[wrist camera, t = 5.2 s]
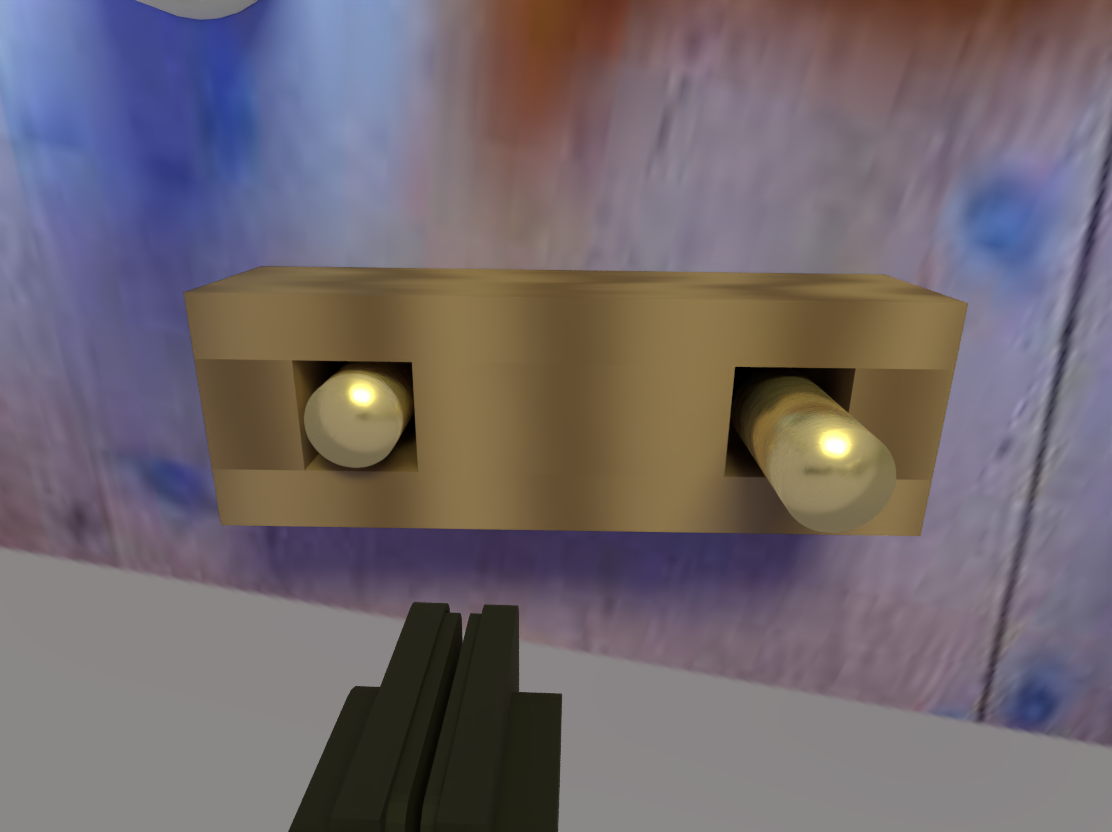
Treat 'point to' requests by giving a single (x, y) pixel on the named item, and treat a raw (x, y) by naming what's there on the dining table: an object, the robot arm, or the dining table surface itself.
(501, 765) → the robot arm
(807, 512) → the inner brass pin
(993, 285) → the dining table surface
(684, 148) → the dining table surface
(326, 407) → the outer brass pin
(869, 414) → the tan peg holder block
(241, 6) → the cylindrical container
